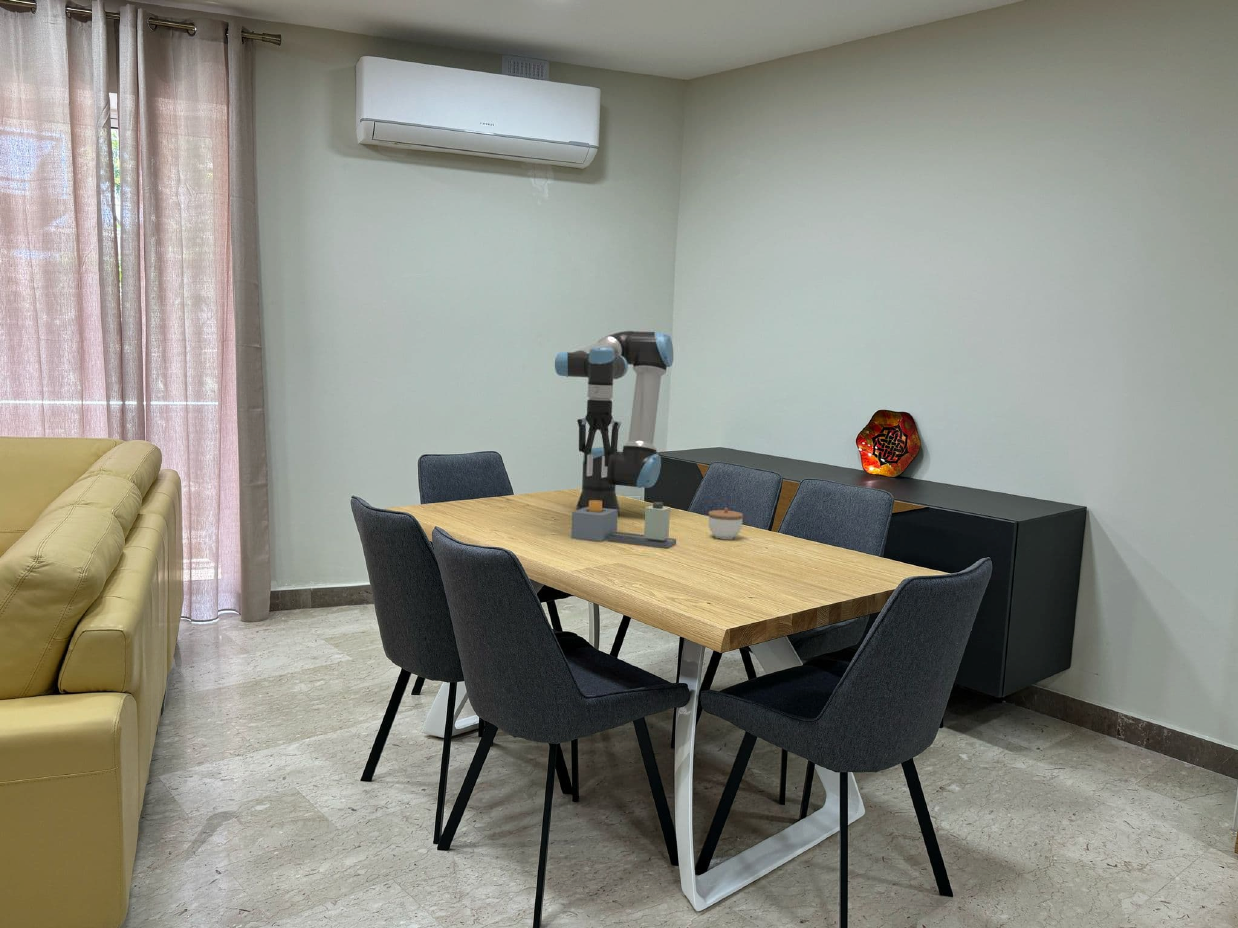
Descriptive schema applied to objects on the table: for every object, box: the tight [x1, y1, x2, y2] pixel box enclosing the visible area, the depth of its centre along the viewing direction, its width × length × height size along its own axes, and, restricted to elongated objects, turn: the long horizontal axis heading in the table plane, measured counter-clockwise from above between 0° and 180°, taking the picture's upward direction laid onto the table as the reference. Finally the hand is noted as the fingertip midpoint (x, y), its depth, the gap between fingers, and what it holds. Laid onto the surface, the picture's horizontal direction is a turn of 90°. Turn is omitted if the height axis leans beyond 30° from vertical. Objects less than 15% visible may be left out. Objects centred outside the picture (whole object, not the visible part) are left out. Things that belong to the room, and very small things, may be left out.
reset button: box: [589, 500, 602, 513], centre depth 286 cm, size 4×4×6 cm
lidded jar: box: [708, 507, 744, 540], centre depth 294 cm, size 11×11×9 cm
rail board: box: [607, 531, 677, 550], centre depth 281 cm, size 19×8×2 cm, turn 68°
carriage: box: [643, 501, 671, 540], centre depth 279 cm, size 6×5×10 cm
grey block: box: [570, 506, 619, 543], centre depth 286 cm, size 10×12×8 cm
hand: (596, 476), depth 284 cm, fingers open, 4 cm apart
